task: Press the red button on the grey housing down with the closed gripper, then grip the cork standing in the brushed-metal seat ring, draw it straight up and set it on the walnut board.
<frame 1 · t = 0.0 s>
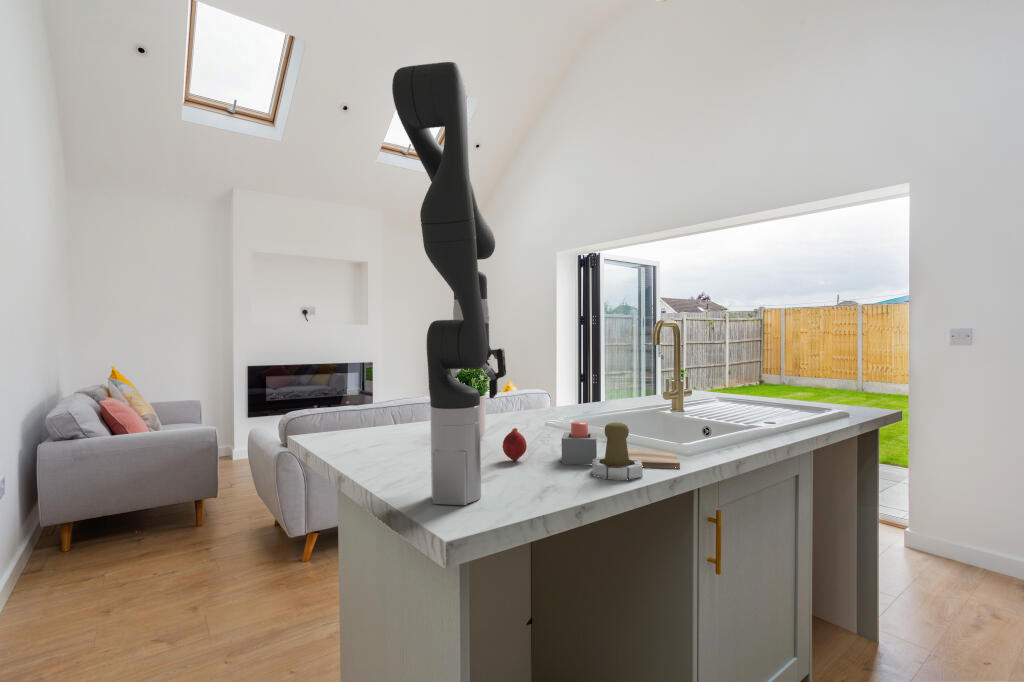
hand: (472, 397, 107), 17 cm above the worktop, tool pointing down, fingers open, 8 cm apart
seat ring: (617, 473, 110), on the worktop
board: (649, 461, 120), on the worktop
housing: (579, 460, 121), on the worktop
cork: (617, 474, 110), resting in seat ring
plunger: (579, 435, 121), point 6 cm above the worktop, slide at 0.0 cm
onion: (514, 461, 122), on the worktop
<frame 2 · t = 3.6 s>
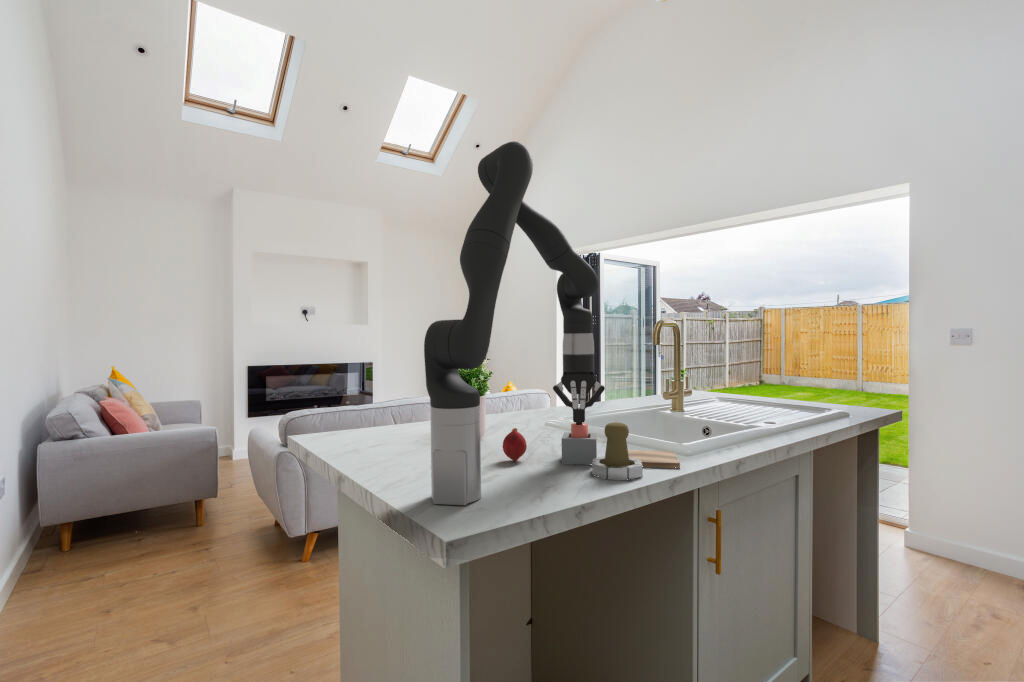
hand: (579, 424, 121), 9 cm above the worktop, tool pointing down, fingers closed
plunger: (579, 436, 121), point 6 cm above the worktop, slide at 0.3 cm, touching gripper
everything else where it was.
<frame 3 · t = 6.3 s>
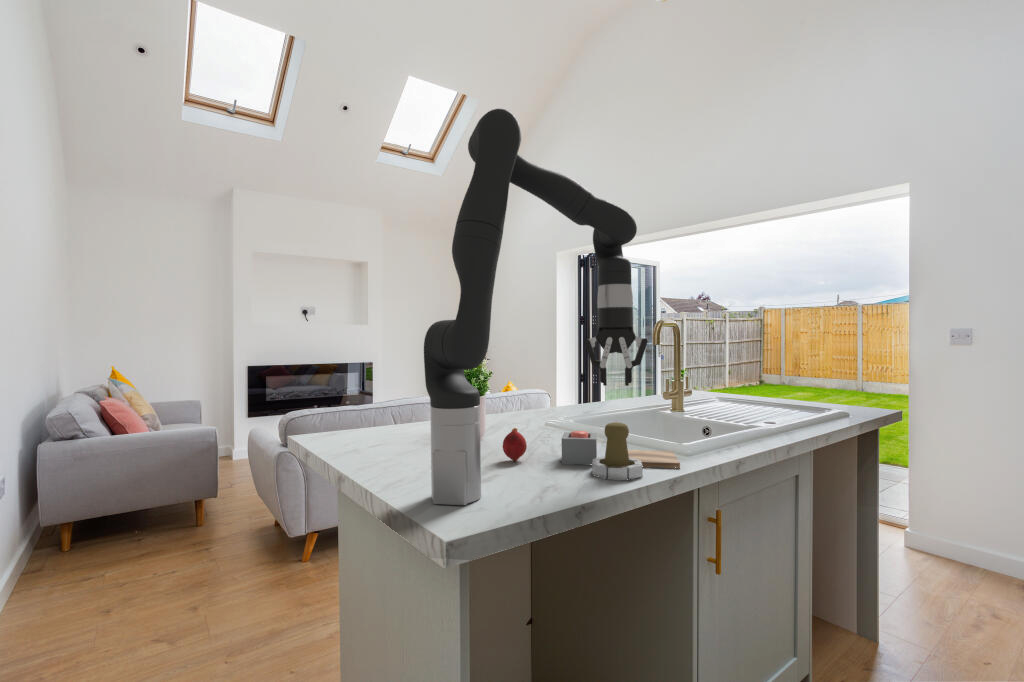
hand: (615, 384, 109), 19 cm above the worktop, tool pointing down, fingers open, 4 cm apart
plunger: (579, 444, 121), point 4 cm above the worktop, slide at 2.2 cm
everything else where it was.
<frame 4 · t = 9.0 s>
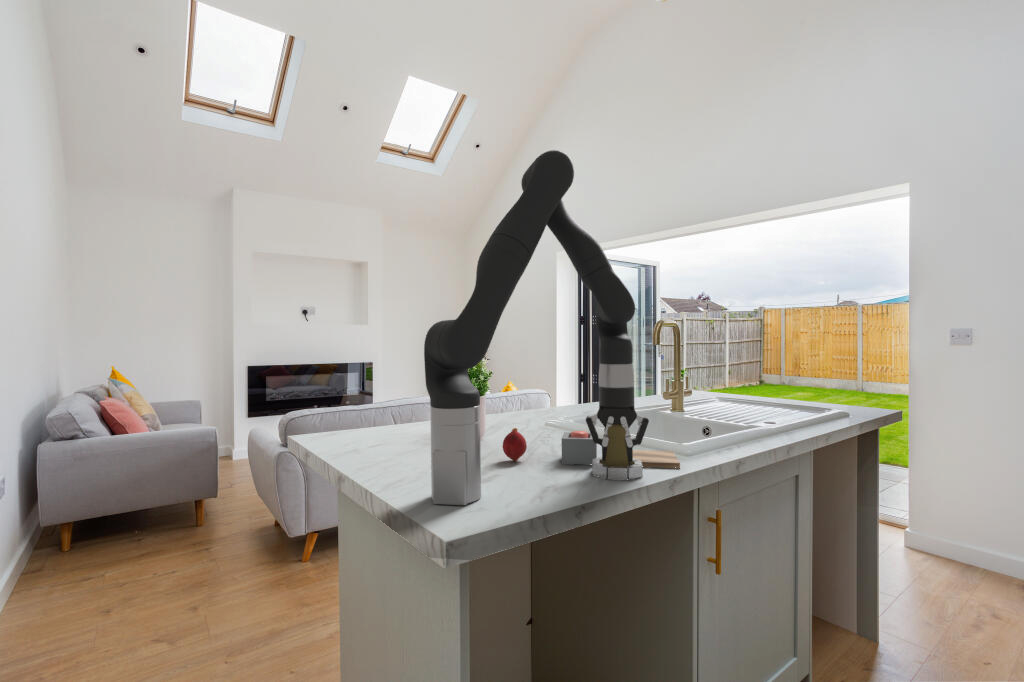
hand: (617, 462, 110), 2 cm above the worktop, tool pointing down, fingers closed on cork, 3 cm apart
cork: (616, 474, 110), resting in seat ring, touching gripper
everything else where it was.
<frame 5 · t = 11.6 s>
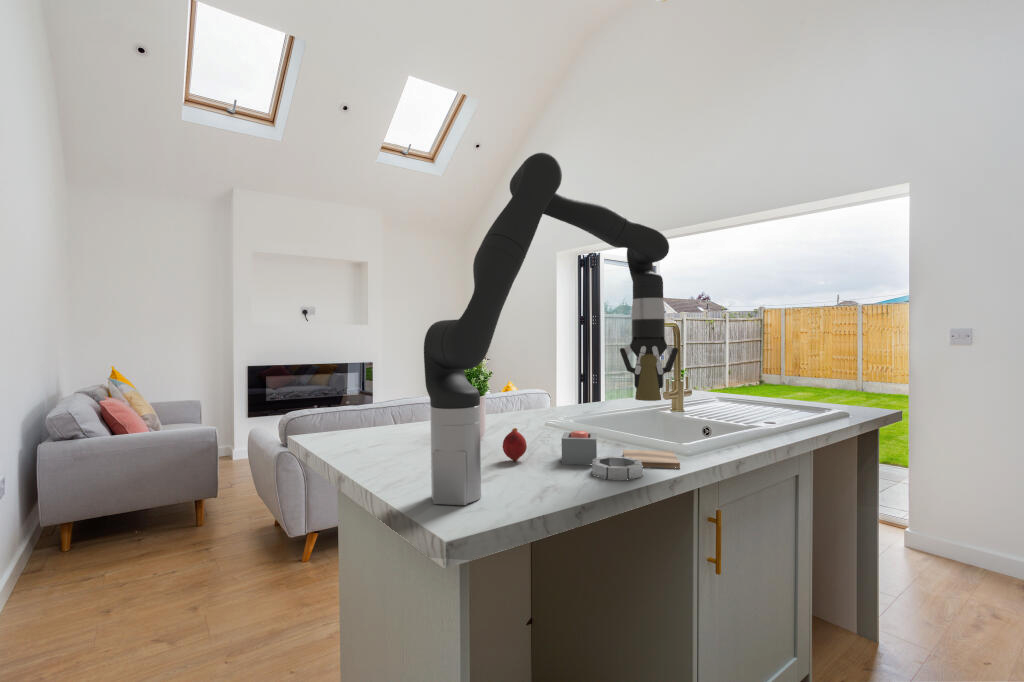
hand: (648, 389, 120), 17 cm above the worktop, tool pointing down, fingers closed on cork, 3 cm apart
cork: (648, 400, 120), point 15 cm above the worktop, touching gripper
everything else where it was.
when the fingers open (4 cm above the worktop, at t = 14.2 s): cork stays where it is, resting on board.
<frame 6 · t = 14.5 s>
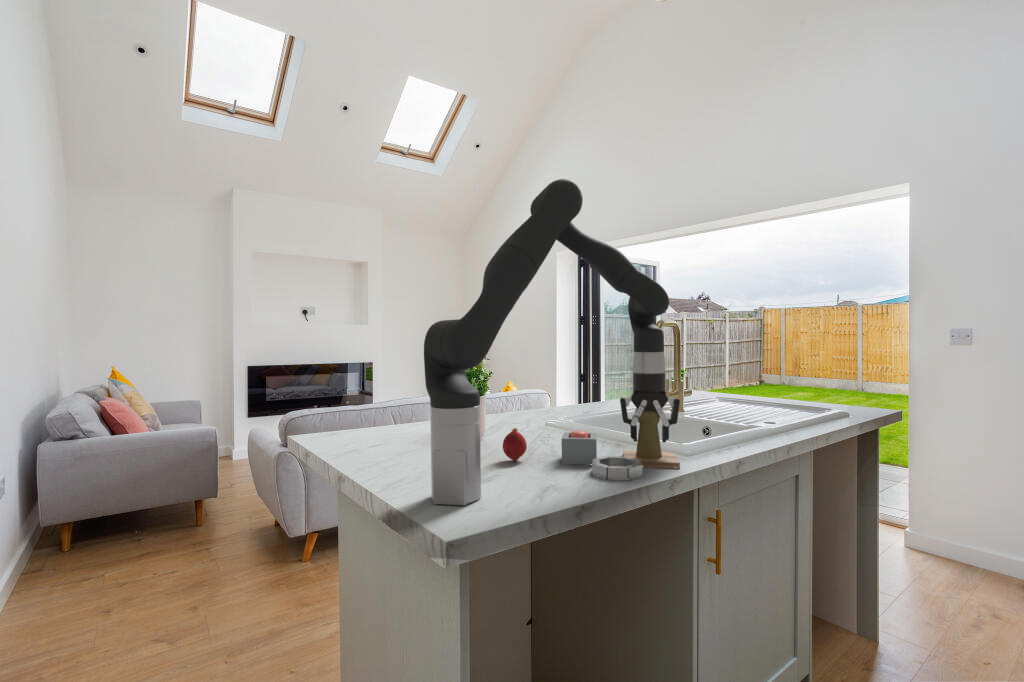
hand: (649, 441, 120), 5 cm above the worktop, tool pointing down, fingers open, 6 cm apart
cork: (648, 456, 120), point 1 cm above the worktop, touching board
everything else where it was.
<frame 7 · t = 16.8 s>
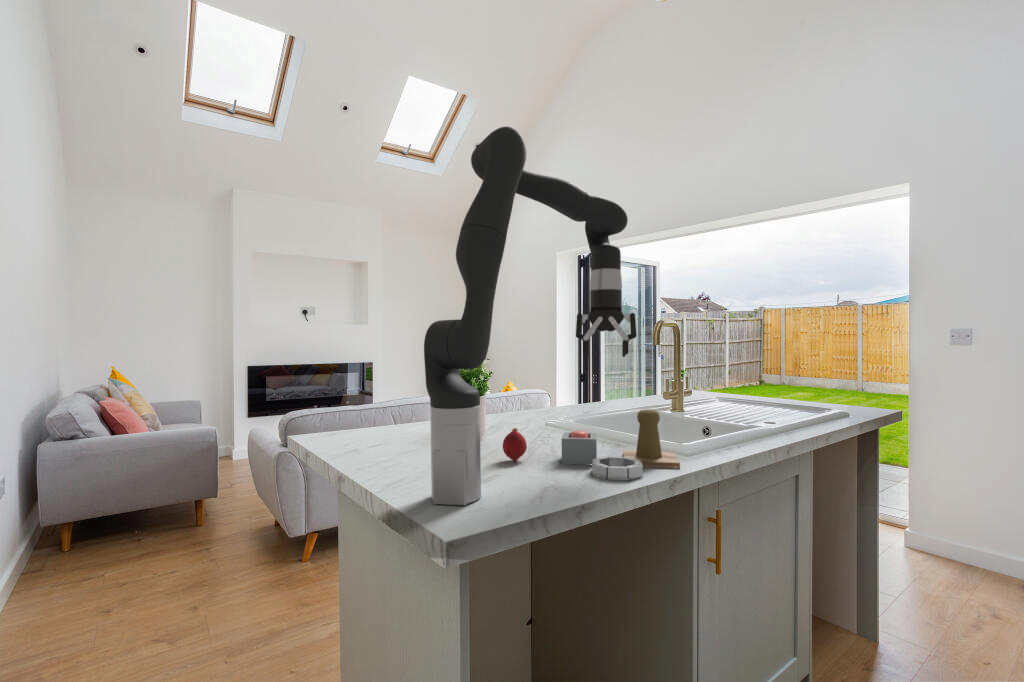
hand: (605, 356, 121), 25 cm above the worktop, tool pointing down, fingers open, 8 cm apart
nothing on the worktop moved.
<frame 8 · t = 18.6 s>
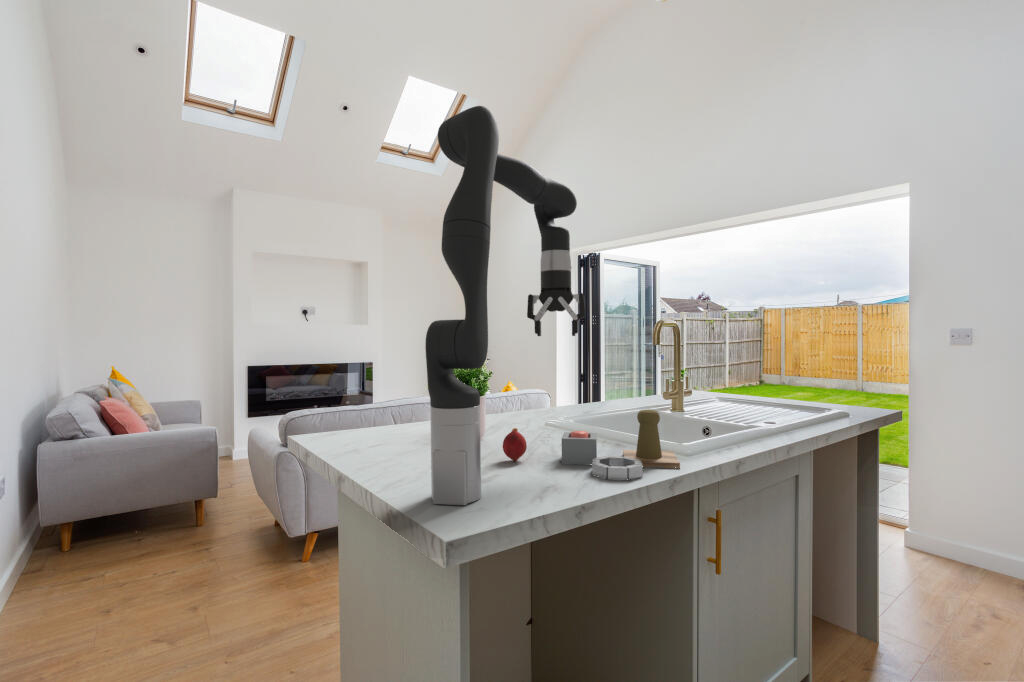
hand: (556, 336, 125), 30 cm above the worktop, tool pointing down, fingers open, 8 cm apart
nothing on the worktop moved.
at the end: plunger slide at 2.2 cm; cork inside the target area on the board (0.2 cm from its centre), point 1.0 cm above the board's base; cork tilted 0° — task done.
